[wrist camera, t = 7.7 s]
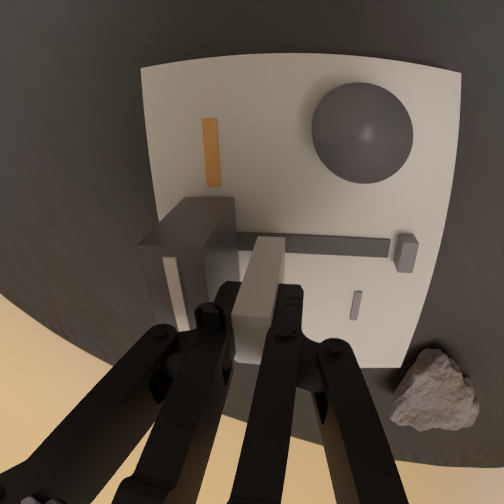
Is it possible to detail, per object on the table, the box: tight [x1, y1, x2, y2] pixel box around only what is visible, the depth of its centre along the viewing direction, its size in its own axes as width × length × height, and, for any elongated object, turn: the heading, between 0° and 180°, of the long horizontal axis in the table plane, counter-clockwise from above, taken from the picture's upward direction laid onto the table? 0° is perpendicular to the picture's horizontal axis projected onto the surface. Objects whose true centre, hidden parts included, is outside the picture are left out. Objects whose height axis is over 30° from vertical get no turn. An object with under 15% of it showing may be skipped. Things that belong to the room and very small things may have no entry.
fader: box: [138, 197, 240, 332], centre depth 17 cm, size 6×3×6 cm, turn 2°
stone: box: [389, 348, 479, 431], centre depth 23 cm, size 8×10×6 cm
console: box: [141, 53, 461, 368], centre depth 19 cm, size 22×18×4 cm
